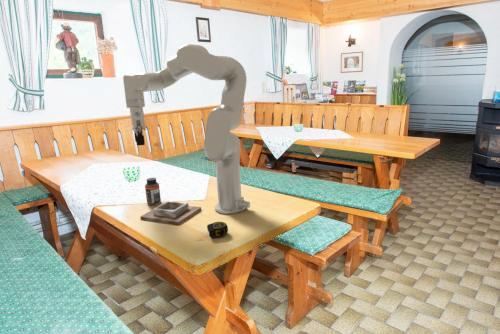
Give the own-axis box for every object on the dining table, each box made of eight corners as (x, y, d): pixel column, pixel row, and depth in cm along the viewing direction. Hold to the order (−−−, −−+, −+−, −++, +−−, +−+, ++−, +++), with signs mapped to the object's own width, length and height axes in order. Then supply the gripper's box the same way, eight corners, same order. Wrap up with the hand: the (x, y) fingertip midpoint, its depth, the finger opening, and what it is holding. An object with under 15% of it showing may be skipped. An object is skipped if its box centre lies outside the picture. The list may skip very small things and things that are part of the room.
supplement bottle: (145, 203, 158) (142, 178, 155) (157, 200, 161) (155, 176, 158) (150, 206, 153) (147, 181, 150) (163, 203, 156) (160, 178, 154)
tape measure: (207, 232, 125) (206, 222, 124) (226, 229, 126) (225, 219, 126) (209, 240, 119) (208, 230, 118) (229, 237, 120) (228, 227, 119)
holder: (201, 210, 146) (200, 201, 145) (178, 225, 132) (177, 215, 131) (165, 205, 153) (164, 197, 152) (140, 219, 139) (139, 210, 138)
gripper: (146, 104, 144) (150, 145, 148) (142, 102, 160) (147, 139, 164) (127, 105, 142) (132, 147, 146) (125, 103, 157) (130, 141, 162)
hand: (140, 143), depth 155 cm, fingers open, 9 cm apart
